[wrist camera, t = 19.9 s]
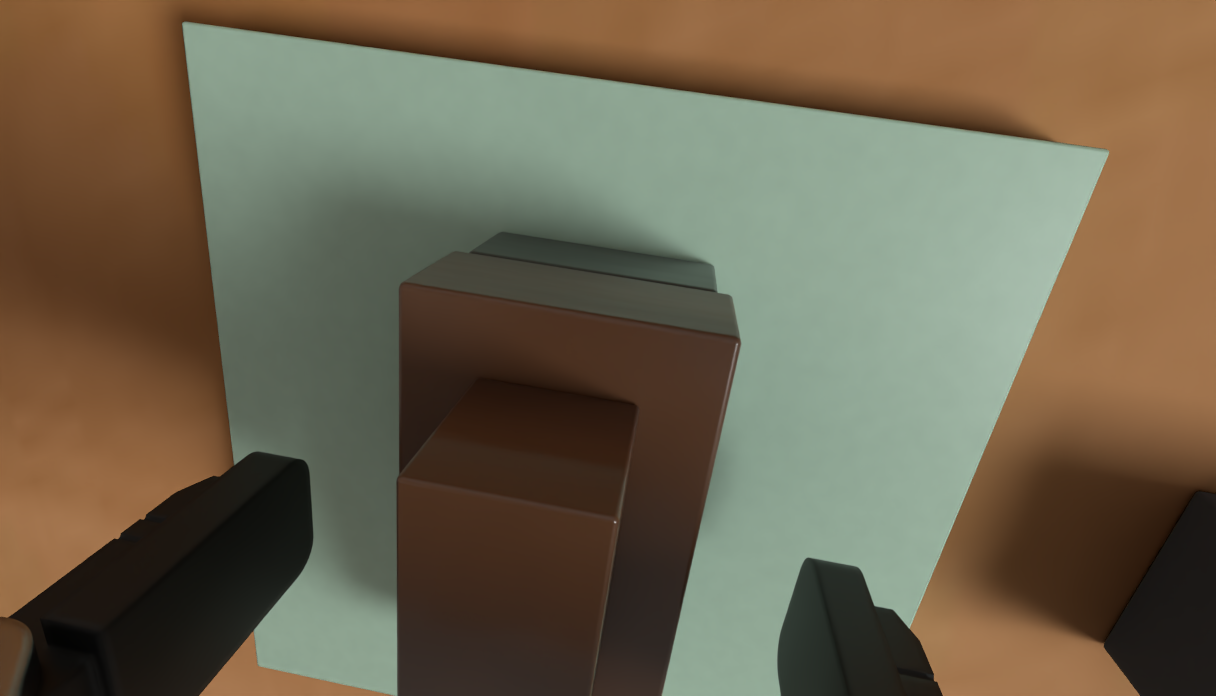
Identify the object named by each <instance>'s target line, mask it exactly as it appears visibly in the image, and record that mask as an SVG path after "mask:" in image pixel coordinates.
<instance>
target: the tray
mask: <svg viewBox="0 0 1216 696" xmlns="http://www.w3.org/2000/svg"><path fill="white" fill-rule="evenodd" d="M182 29H183V37H184V45H185V54H186V62H187V71H188V79H189V88H190V96H191V105H192V113H193V122H194V130H195V138H196V147H197V155H198V164H199V172H200V181H201V189H202V198H203V206H204V215H205V223H206V232H207V240H208V248H209V257H210V265H211V274H212V282H213V291H214V299H215V308H216V316H217V325H218V333H219V341H220V350H221V358H222V367H223V375H224V384H225V392H226V401H227V409H228V418H229V426H230V434H231V443H232V451H233V460H234V465H235V464H237V463H238V462H239V461H241V460H242V459H243V458H244V457H246V456H247V455H249V454H250V453H252V452H256V451H260V452H265V453H271V454H276V455H281V456H286V457H292V458H297V459H302V460H304V461H305V462H306V463H307V465H308V467H309V472H310V486H311V502H312V518H313V535H314V538H313V545H312V550H311V553H310V556H309V559H308V561H307V564H306V566H305V567H304V569H303V571H302V572H301V574H300V575H299V577H298V578H297V579H296V580H295V582H294V583H293V584H292V585H291V586H290V587H289V589H288V590H287V591H286V592H285V593H284V595H283V596H282V597H281V598H280V599H279V601H278V602H277V603H276V604H275V605H274V607H273V608H272V609H271V610H270V611H269V613H268V614H267V615H266V616H265V617H264V619H263V620H262V621H261V622H260V623H259V625H258V626H257V627H256V628H255V629H254V637H255V646H256V654H257V663H258V666H261V667H265V668H270V669H275V670H279V671H284V672H288V673H293V674H298V675H302V676H307V677H311V678H316V679H321V680H325V681H330V682H334V683H339V684H344V685H348V686H353V687H357V688H362V689H367V690H371V691H376V692H381V693H385V694H390V695H394V696H397V493H396V482H397V478H398V476H399V286H400V284H401V283H402V282H403V281H405V280H407V279H408V278H410V277H411V276H413V275H415V274H416V273H418V272H420V271H421V270H423V269H425V268H426V267H428V266H430V265H431V264H433V263H435V262H436V261H438V260H440V259H441V258H443V257H445V256H446V255H448V254H450V253H451V252H454V251H459V252H465V253H469V252H470V251H472V250H473V249H475V248H476V247H478V246H479V245H481V244H482V243H484V242H485V241H487V240H488V239H490V238H491V237H493V236H495V235H496V234H498V233H500V232H508V233H514V234H520V235H527V236H533V237H540V238H546V239H552V240H559V241H565V242H572V243H578V244H584V245H591V246H597V247H604V248H610V249H616V250H623V251H629V252H636V253H642V254H648V255H655V256H661V257H668V258H674V259H681V260H687V261H693V262H700V263H706V264H711V265H713V266H714V268H715V275H716V283H717V291H718V293H723V294H728V295H730V296H732V298H733V303H734V308H735V313H736V318H737V323H738V328H739V333H740V339H741V348H740V353H739V357H738V362H737V366H736V370H735V375H734V379H733V384H732V388H731V393H730V397H729V401H728V406H727V410H726V415H725V419H724V424H723V428H722V432H721V437H720V441H719V446H718V450H717V455H716V459H715V463H714V468H713V472H712V477H711V481H710V486H709V490H708V494H707V499H706V503H705V508H704V512H703V517H702V521H701V525H700V530H699V534H698V539H697V543H696V548H695V552H694V556H693V561H692V565H691V570H690V574H689V579H688V583H687V587H686V592H685V596H684V601H683V605H682V610H681V614H680V618H679V623H678V627H677V632H676V636H675V641H674V645H673V649H672V654H671V658H670V663H669V667H668V672H667V676H666V680H665V685H664V689H663V694H662V696H781V693H780V687H779V680H778V671H777V653H778V643H779V637H780V632H781V629H782V625H783V622H784V619H785V616H786V613H787V610H788V606H789V603H790V600H791V597H792V594H793V591H794V588H795V584H796V581H797V578H798V575H799V572H800V569H801V566H802V564H803V562H804V560H805V559H806V558H808V557H809V558H815V559H820V560H825V561H830V562H836V563H841V564H846V565H851V566H856V567H858V568H859V569H860V570H861V571H862V573H863V576H864V578H865V581H866V584H867V587H868V589H869V592H870V595H871V598H872V601H873V603H874V606H877V607H883V608H888V609H893V610H894V611H895V612H896V614H897V615H898V616H899V617H900V618H901V619H902V621H903V622H904V623H905V624H906V625H907V627H908V628H910V626H911V624H912V621H913V619H914V617H915V614H916V612H917V609H918V607H919V605H920V602H921V600H922V597H923V595H924V593H925V590H926V588H927V586H928V583H929V581H930V578H931V576H932V574H933V571H934V569H935V566H936V564H937V562H938V559H939V557H940V555H941V552H942V550H943V547H944V545H945V543H946V540H947V538H948V536H949V533H950V531H951V528H952V526H953V524H954V521H955V519H956V516H957V514H958V512H959V509H960V507H961V505H962V502H963V500H964V497H965V495H966V493H967V490H968V488H969V485H970V483H971V481H972V478H973V476H974V474H975V471H976V469H977V466H978V464H979V462H980V459H981V457H982V454H983V452H984V450H985V447H986V445H987V443H988V440H989V438H990V435H991V433H992V431H993V428H994V426H995V424H996V421H997V419H998V416H999V414H1000V412H1001V409H1002V407H1003V404H1004V402H1005V400H1006V397H1007V395H1008V393H1009V390H1010V388H1011V385H1012V383H1013V381H1014V378H1015V376H1016V373H1017V371H1018V369H1019V366H1020V364H1021V362H1022V359H1023V357H1024V354H1025V352H1026V350H1027V347H1028V345H1029V342H1030V340H1031V338H1032V335H1033V333H1034V331H1035V328H1036V326H1037V323H1038V321H1039V319H1040V316H1041V314H1042V312H1043V309H1044V307H1045V304H1046V302H1047V300H1048V297H1049V295H1050V292H1051V290H1052V288H1053V285H1054V283H1055V281H1056V278H1057V276H1058V273H1059V271H1060V269H1061V266H1062V264H1063V261H1064V259H1065V257H1066V254H1067V252H1068V250H1069V247H1070V245H1071V242H1072V240H1073V238H1074V235H1075V233H1076V230H1077V228H1078V226H1079V223H1080V221H1081V219H1082V216H1083V214H1084V211H1085V209H1086V207H1087V204H1088V202H1089V200H1090V197H1091V195H1092V192H1093V190H1094V188H1095V185H1096V183H1097V180H1098V178H1099V176H1100V173H1101V171H1102V169H1103V166H1104V164H1105V161H1106V159H1107V157H1108V154H1109V151H1108V150H1107V149H1102V148H1095V147H1088V146H1080V145H1073V144H1066V143H1059V142H1052V141H1044V140H1037V139H1030V138H1023V137H1015V136H1008V135H1001V134H994V133H987V132H979V131H972V130H965V129H958V128H951V127H943V126H936V125H929V124H922V123H914V122H907V121H900V120H893V119H886V118H878V117H871V116H864V115H857V114H850V113H842V112H835V111H828V110H821V109H814V108H806V107H799V106H792V105H785V104H777V103H770V102H763V101H756V100H749V99H741V98H734V97H727V96H720V95H713V94H705V93H698V92H691V91H684V90H676V89H669V88H662V87H655V86H648V85H640V84H633V83H626V82H619V81H612V80H604V79H597V78H590V77H583V76H576V75H568V74H561V73H554V72H547V71H539V70H532V69H525V68H518V67H511V66H503V65H496V64H489V63H482V62H475V61H467V60H460V59H453V58H446V57H438V56H431V55H424V54H417V53H410V52H402V51H395V50H388V49H381V48H374V47H366V46H359V45H352V44H345V43H338V42H330V41H323V40H316V39H309V38H301V37H294V36H287V35H280V34H273V33H265V32H258V31H251V30H244V29H237V28H229V27H222V26H215V25H208V24H200V23H193V22H183V23H182Z"/></svg>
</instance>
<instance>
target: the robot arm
mask: <svg viewBox="0 0 1216 696" xmlns="http://www.w3.org/2000/svg"><path fill="white" fill-rule="evenodd" d="M313 538H314V535H313V518H312V502H311V486H310V472H309V467H308V465H307V463H306V462H305V461H304V460H302V459H297V458H292V457H286V456H281V455H276V454H271V453H265V452H260V451H256V452H252V453H250V454H249V455H247V456H246V457H244V458H243V459H242V460H241V461H239V462H238V463H237V464H235V465H234V466H233V467H232V468H230V469H229V470H228V471H227V472H225V473H224V474H223V475H221V476H220V477H217V476H212V477H210V478H207V479H205V480H203V481H201V482H198V483H196V484H194V485H191V486H189V487H187V488H185V489H182V490H180V491H178V492H176V493H174V494H173V495H172V496H170V497H169V498H168V499H166V500H165V501H164V502H162V503H161V504H160V505H158V506H157V507H156V508H154V509H153V510H152V511H150V512H149V513H148V514H146V518H145V519H144V520H141V519H140V520H138V521H137V522H136V523H134V524H133V525H132V526H130V527H129V528H128V529H126V530H125V531H124V532H122V533H121V536H120V538H119V539H113V540H112V541H110V542H109V543H108V544H106V545H105V546H104V547H102V548H101V549H100V550H98V551H97V552H96V553H94V554H93V555H92V556H90V557H89V558H88V559H86V560H85V561H84V562H82V563H81V564H80V565H78V566H77V567H76V568H74V569H73V570H71V571H70V572H69V573H67V574H66V575H65V576H63V577H62V578H61V579H59V580H58V581H57V582H55V583H54V584H53V585H51V586H50V587H49V588H47V589H46V590H45V591H43V592H42V593H41V594H39V595H38V596H37V597H35V598H34V599H33V600H31V601H30V602H29V603H27V604H26V605H25V606H23V607H22V608H21V609H19V610H18V611H17V612H15V613H14V614H13V615H11V616H10V617H8V618H6V617H0V696H199V695H200V694H201V693H202V691H203V690H204V689H205V688H206V687H207V685H208V684H209V683H210V682H211V681H212V679H213V678H214V677H215V676H216V675H217V673H218V672H219V671H220V670H221V669H222V667H223V666H224V665H225V664H226V663H227V662H228V660H229V659H230V658H231V657H232V656H233V654H234V653H235V652H236V651H237V650H238V648H239V647H240V646H241V645H242V644H243V642H244V641H245V640H246V639H247V638H248V636H249V635H250V634H251V633H252V632H253V630H254V629H255V628H256V627H257V626H258V625H259V623H260V622H261V621H262V620H263V619H264V617H265V616H266V615H267V614H268V613H269V611H270V610H271V609H272V608H273V607H274V605H275V604H276V603H277V602H278V601H279V599H280V598H281V597H282V596H283V595H284V593H285V592H286V591H287V590H288V589H289V587H290V586H291V585H292V584H293V583H294V582H295V580H296V579H297V578H298V577H299V575H300V574H301V572H302V571H303V569H304V567H305V566H306V564H307V561H308V559H309V556H310V553H311V550H312V545H313ZM777 671H778V680H779V687H780V693H781V696H943V695H942V693H941V690H940V688H939V686H938V683H937V682H935V681H934V674H933V671H932V669H931V667H930V664H929V662H928V659H927V657H926V655H925V652H924V650H923V648H922V645H921V643H920V641H919V640H918V638H917V637H916V636H915V635H914V634H913V632H912V631H911V630H910V629H909V628H908V627H907V625H906V624H905V623H904V622H903V621H902V619H901V618H900V617H899V616H898V615H897V614H896V612H895V611H894V610H893V609H888V608H883V607H877V606H874V603H873V601H872V598H871V595H870V592H869V589H868V587H867V584H866V581H865V578H864V576H863V573H862V571H861V570H860V569H859V568H858V567H856V566H851V565H846V564H841V563H836V562H830V561H825V560H820V559H815V558H809V557H808V558H806V559H805V560H804V562H803V564H802V566H801V569H800V572H799V575H798V578H797V581H796V584H795V588H794V591H793V594H792V597H791V600H790V603H789V606H788V610H787V613H786V616H785V619H784V622H783V625H782V629H781V632H780V637H779V643H778V653H777Z"/></svg>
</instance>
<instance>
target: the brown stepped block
mask: <svg viewBox="0 0 1216 696" xmlns="http://www.w3.org/2000/svg"><path fill="white" fill-rule="evenodd" d="M740 348H741V339H740V333H739V328H738V323H737V318H736V313H735V308H734V303H733V298H732V296H730V295H728V294H723V293H718V291H717V283H716V275H715V268H714V266H713V265H711V264H706V263H700V262H693V261H687V260H681V259H674V258H668V257H661V256H655V255H648V254H642V253H636V252H629V251H623V250H616V249H610V248H604V247H597V246H591V245H584V244H578V243H572V242H565V241H559V240H552V239H546V238H540V237H533V236H527V235H520V234H514V233H508V232H500V233H498V234H496V235H495V236H493V237H491V238H490V239H488V240H487V241H485V242H484V243H482V244H481V245H479V246H478V247H476V248H475V249H473V250H472V251H470V252H469V253H465V252H459V251H454V252H451V253H450V254H448V255H446V256H445V257H443V258H441V259H440V260H438V261H436V262H435V263H433V264H431V265H430V266H428V267H426V268H425V269H423V270H421V271H420V272H418V273H416V274H415V275H413V276H411V277H410V278H408V279H407V280H405V281H403V282H402V283H401V284H400V286H399V476H398V478H397V482H396V493H397V696H662V694H663V689H664V685H665V680H666V676H667V672H668V667H669V663H670V658H671V654H672V649H673V645H674V641H675V636H676V632H677V627H678V623H679V618H680V614H681V610H682V605H683V601H684V596H685V592H686V587H687V583H688V579H689V574H690V570H691V565H692V561H693V556H694V552H695V548H696V543H697V539H698V534H699V530H700V525H701V521H702V517H703V512H704V508H705V503H706V499H707V494H708V490H709V486H710V481H711V477H712V472H713V468H714V463H715V459H716V455H717V450H718V446H719V441H720V437H721V432H722V428H723V424H724V419H725V415H726V410H727V406H728V401H729V397H730V393H731V388H732V384H733V379H734V375H735V370H736V366H737V362H738V357H739V353H740Z"/></svg>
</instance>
